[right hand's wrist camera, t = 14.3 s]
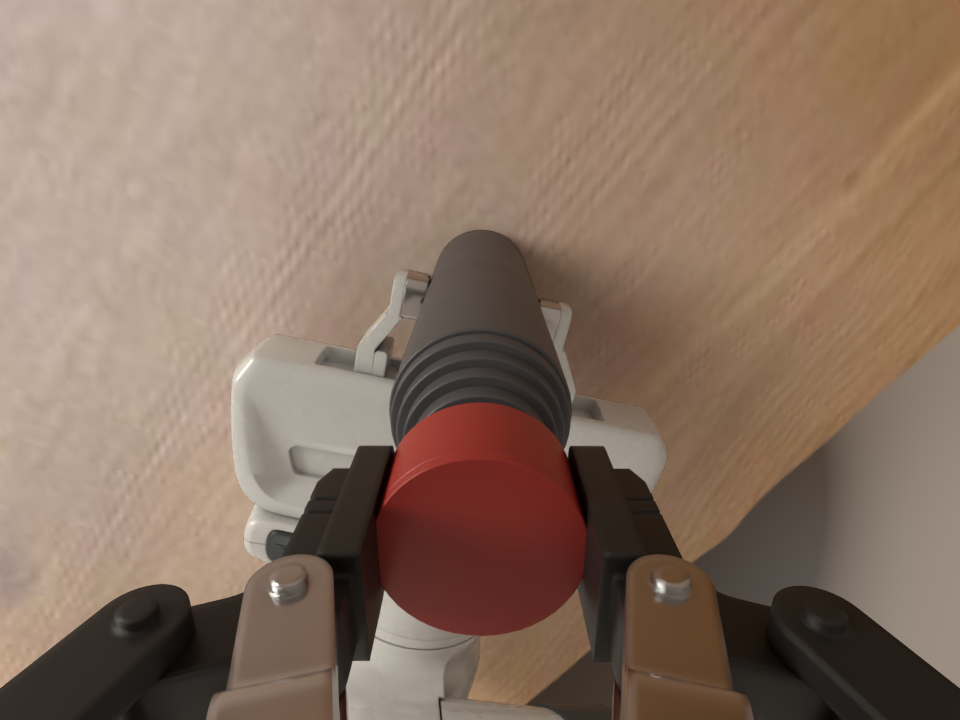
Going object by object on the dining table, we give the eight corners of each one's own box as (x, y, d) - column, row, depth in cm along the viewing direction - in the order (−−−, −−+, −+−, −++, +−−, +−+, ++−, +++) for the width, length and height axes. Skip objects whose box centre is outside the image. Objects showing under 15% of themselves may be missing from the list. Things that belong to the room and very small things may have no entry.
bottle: (542, 293, 31) (654, 579, 11) (464, 334, 32) (434, 670, 12) (499, 212, 30) (537, 372, 9) (418, 258, 31) (293, 495, 10)
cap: (608, 483, 12) (635, 553, 10) (480, 585, 13) (481, 667, 11) (479, 363, 11) (478, 414, 9) (351, 484, 12) (324, 554, 10)
